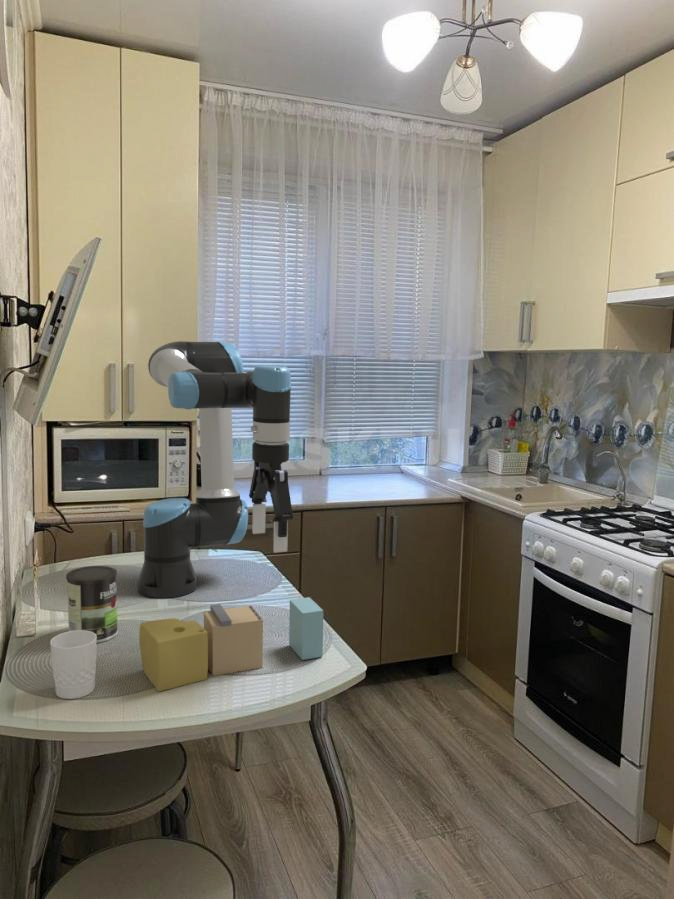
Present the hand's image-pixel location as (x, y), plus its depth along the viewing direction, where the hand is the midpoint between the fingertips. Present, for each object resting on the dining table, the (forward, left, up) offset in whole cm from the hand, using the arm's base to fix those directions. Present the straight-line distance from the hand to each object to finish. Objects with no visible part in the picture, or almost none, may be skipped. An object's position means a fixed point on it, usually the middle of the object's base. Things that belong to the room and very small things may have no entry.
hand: (269, 542), depth 143 cm
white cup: (+6, -39, -23) cm, 46 cm away
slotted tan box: (+5, -9, -23) cm, 25 cm away
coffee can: (-19, -34, -23) cm, 45 cm away
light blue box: (+5, +7, -23) cm, 24 cm away
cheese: (+7, -21, -23) cm, 32 cm away
